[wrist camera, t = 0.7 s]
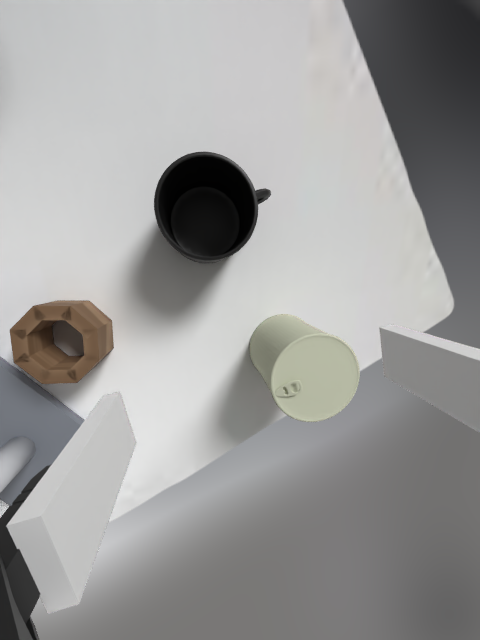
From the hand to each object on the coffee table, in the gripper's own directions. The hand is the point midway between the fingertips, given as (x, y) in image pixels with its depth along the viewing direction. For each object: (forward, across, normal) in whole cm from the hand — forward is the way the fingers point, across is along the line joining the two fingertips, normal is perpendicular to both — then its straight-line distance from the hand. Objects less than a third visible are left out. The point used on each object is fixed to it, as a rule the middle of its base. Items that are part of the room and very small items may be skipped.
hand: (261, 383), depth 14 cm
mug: (+24, +2, +11) cm, 26 cm away
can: (+23, +7, -7) cm, 25 cm away
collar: (+23, -18, +1) cm, 29 cm away
